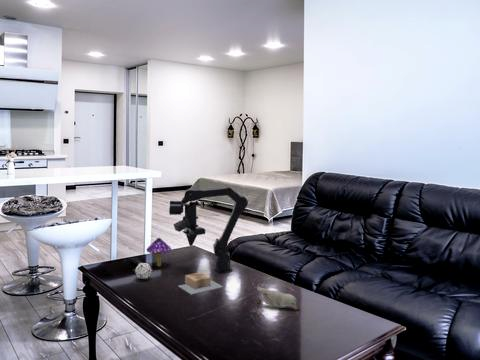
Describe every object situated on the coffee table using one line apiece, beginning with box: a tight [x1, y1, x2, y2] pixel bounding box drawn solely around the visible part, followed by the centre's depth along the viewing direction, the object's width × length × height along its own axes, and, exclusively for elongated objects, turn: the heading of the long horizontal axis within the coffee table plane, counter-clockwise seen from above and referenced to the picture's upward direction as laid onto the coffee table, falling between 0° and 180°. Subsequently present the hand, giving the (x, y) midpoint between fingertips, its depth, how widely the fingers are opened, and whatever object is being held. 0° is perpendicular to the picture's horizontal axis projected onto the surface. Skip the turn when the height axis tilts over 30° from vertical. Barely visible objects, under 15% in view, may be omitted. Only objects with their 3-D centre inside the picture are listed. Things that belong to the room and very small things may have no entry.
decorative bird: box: [256, 286, 298, 311], centre depth 161 cm, size 5×16×8 cm, turn 74°
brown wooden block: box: [184, 271, 211, 289], centre depth 185 cm, size 8×4×9 cm
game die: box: [132, 261, 155, 281], centre depth 192 cm, size 9×8×10 cm
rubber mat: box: [178, 279, 224, 296], centre depth 183 cm, size 16×12×1 cm
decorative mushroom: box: [146, 237, 172, 267], centre depth 211 cm, size 12×12×15 cm
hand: (190, 245), depth 203 cm, fingers closed
